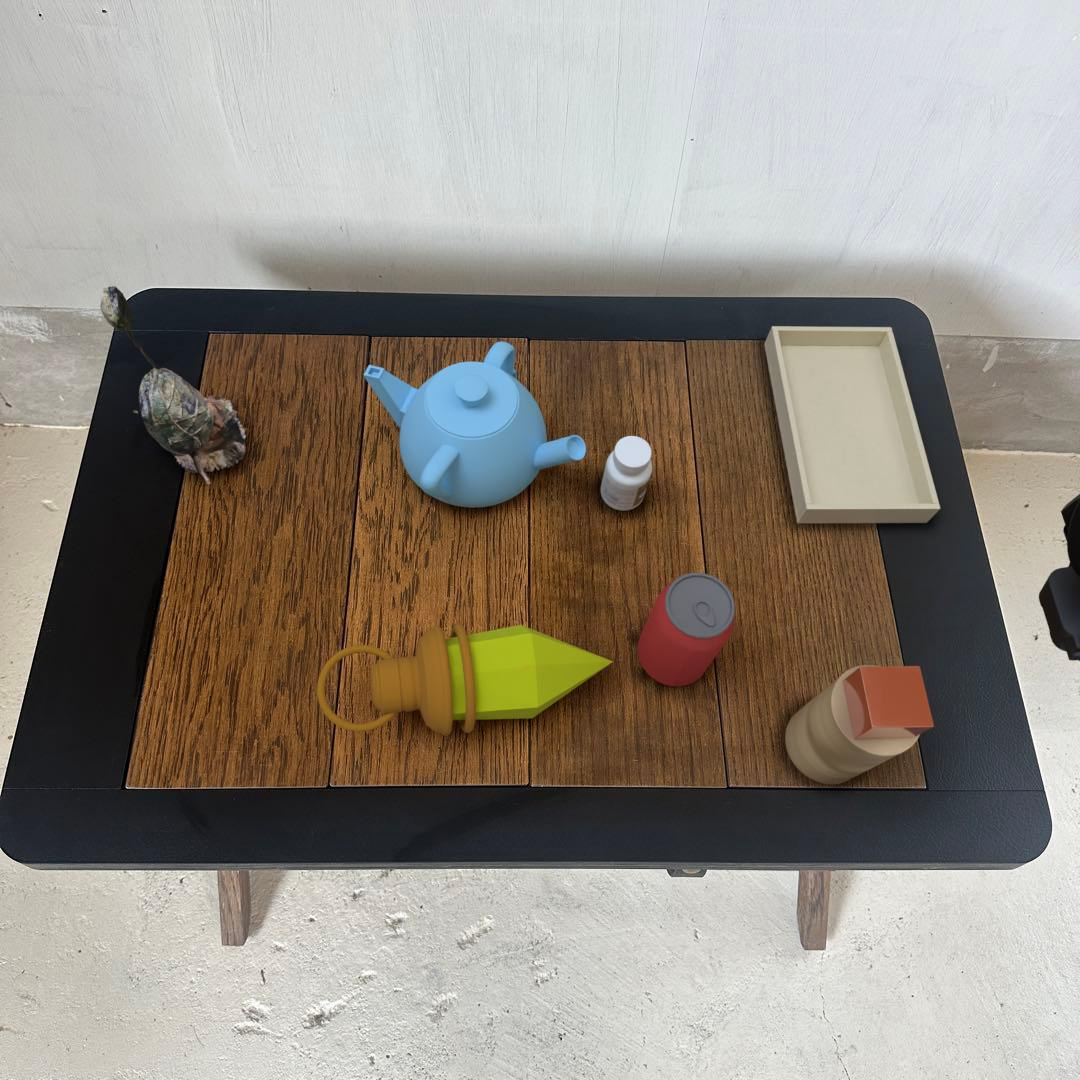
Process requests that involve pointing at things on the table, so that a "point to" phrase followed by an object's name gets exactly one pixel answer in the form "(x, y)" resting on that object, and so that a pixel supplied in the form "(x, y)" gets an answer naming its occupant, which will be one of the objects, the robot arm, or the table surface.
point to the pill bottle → (627, 473)
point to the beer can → (686, 629)
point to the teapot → (472, 430)
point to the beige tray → (848, 426)
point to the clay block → (887, 702)
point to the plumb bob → (470, 677)
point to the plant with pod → (181, 408)
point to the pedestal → (835, 739)
